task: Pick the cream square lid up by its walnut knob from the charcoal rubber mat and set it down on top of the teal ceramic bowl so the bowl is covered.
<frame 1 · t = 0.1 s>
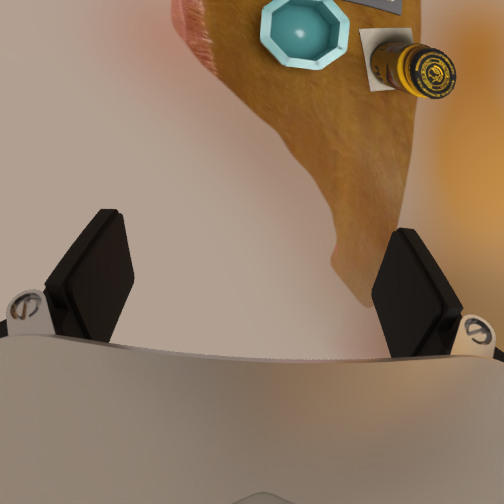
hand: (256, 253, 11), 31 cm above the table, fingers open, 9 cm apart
bowl: (298, 32, 30), on the table
condiment: (390, 58, 31), on the table
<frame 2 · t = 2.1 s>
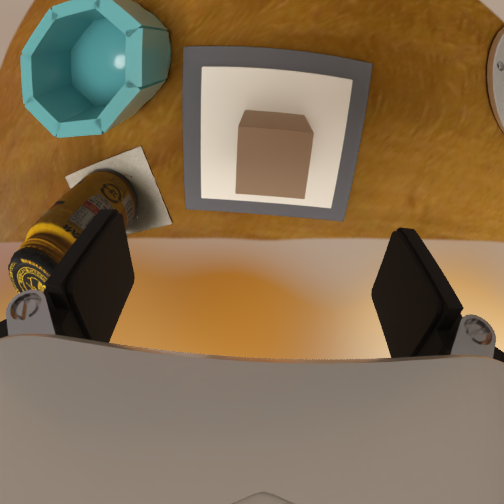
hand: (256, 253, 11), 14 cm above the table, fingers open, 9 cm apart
mat: (272, 134, 22), on the table
lid: (272, 136, 21), resting on mat
bowl: (115, 59, 18), on the table
condiment: (117, 196, 26), on the table
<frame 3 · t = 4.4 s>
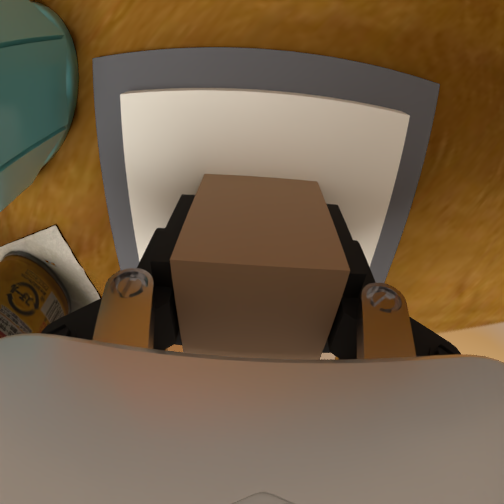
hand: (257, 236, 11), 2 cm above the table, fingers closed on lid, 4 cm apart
mat: (257, 209, 13), on the table
lid: (257, 215, 13), point 1 cm above the table, touching gripper, mat
bowl: (5, 91, 9), on the table
condiment: (44, 285, 17), on the table
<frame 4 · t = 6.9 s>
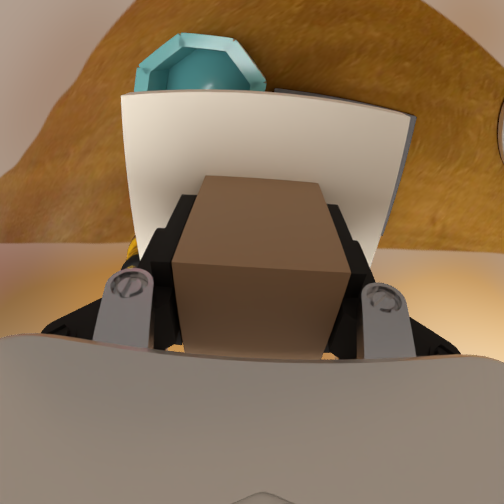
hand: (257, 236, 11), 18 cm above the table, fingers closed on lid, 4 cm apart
mat: (336, 166, 28), on the table
lid: (258, 216, 13), point 16 cm above the table, touching gripper
bowl: (209, 88, 24), on the table
condiment: (195, 207, 31), on the table
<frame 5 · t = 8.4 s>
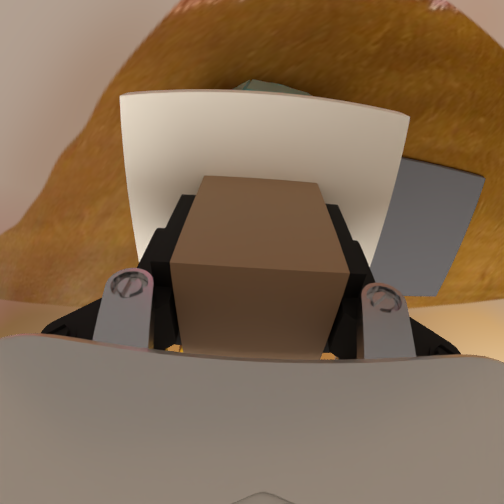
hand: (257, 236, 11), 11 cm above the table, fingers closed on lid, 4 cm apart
mat: (401, 233, 24), on the table
lid: (257, 216, 13), point 10 cm above the table, touching gripper
bowl: (263, 145, 21), on the table
when the fingers open (9 cm above the table, at t = 9.5 s): lid drops 2 cm, resting on bowl.
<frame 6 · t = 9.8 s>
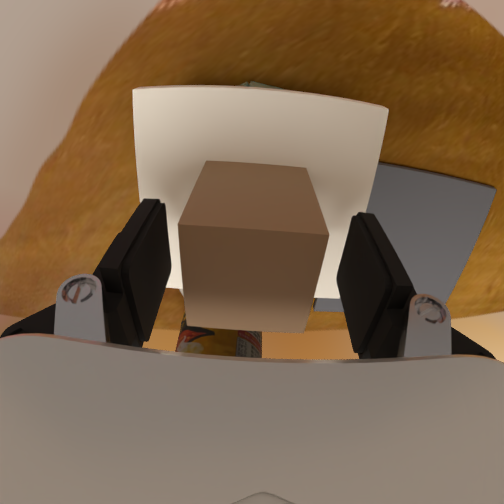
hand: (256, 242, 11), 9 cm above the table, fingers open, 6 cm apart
mat: (406, 248, 22), on the table
lid: (253, 199, 14), point 6 cm above the table, touching bowl
condiment: (236, 296, 26), on the table
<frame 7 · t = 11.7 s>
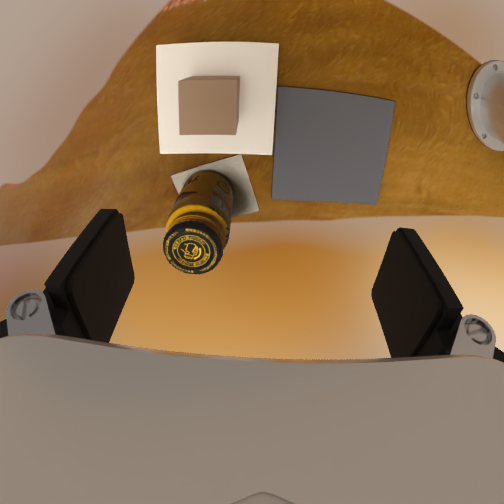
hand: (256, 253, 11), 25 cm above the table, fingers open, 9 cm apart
mat: (332, 148, 33), on the table
lid: (216, 97, 24), point 6 cm above the table, touching bowl
condiment: (215, 191, 36), on the table
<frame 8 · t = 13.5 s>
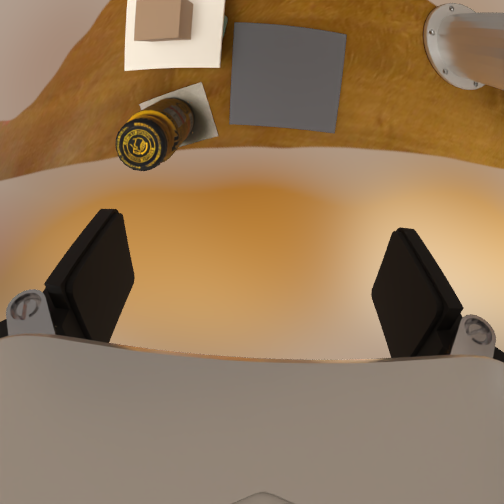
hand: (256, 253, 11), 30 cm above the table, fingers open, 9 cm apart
mat: (287, 76, 33), on the table
lid: (174, 23, 24), point 6 cm above the table, touching bowl
condiment: (178, 118, 36), on the table
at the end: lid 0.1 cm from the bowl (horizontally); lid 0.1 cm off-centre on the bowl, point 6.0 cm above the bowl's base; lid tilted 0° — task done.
